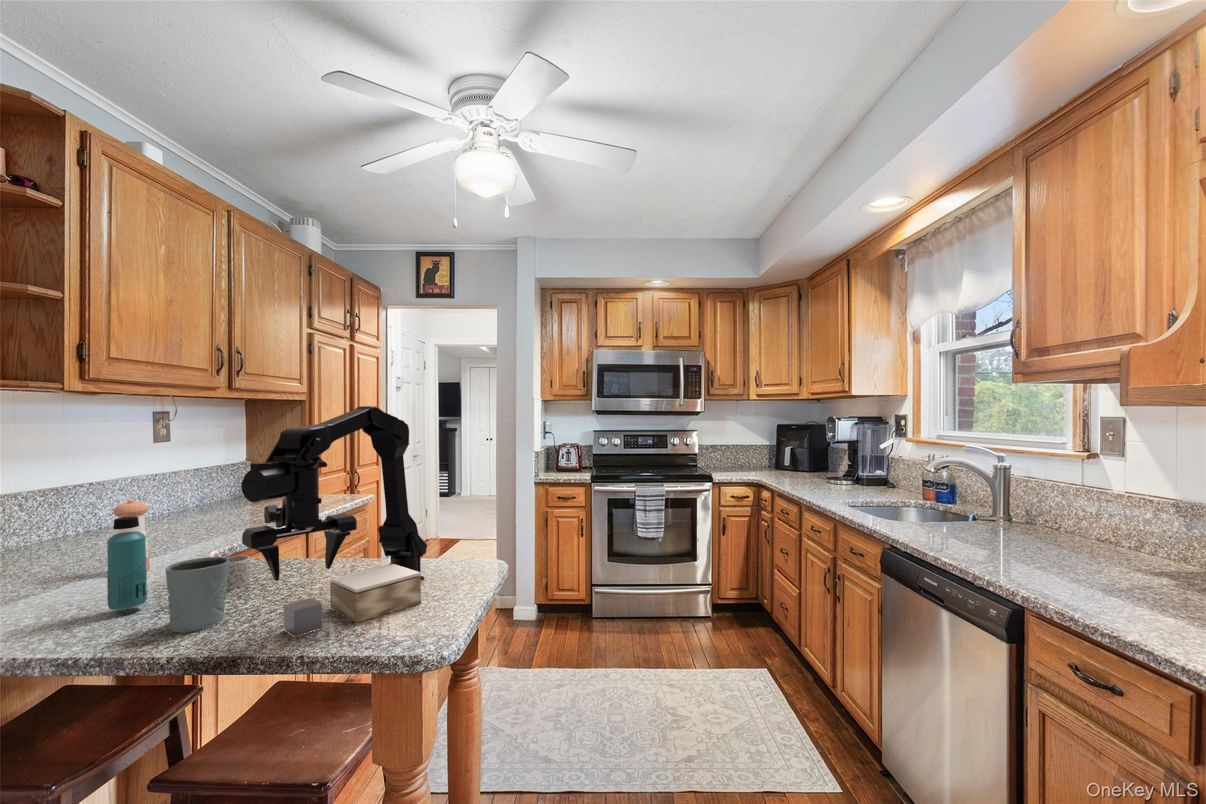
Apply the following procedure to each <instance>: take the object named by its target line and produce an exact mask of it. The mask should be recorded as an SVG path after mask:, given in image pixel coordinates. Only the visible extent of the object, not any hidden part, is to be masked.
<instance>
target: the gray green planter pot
mask: <svg viewBox="0 0 1206 804" xmlns="http://www.w3.org/2000/svg"><path fill="white" fill-rule="evenodd" d="M228 568H229V559H228V558H226V557H225V556H224V557H222V556H212V557H211V556H209V557H200V558H192V559H187V560H186V559H185V560H182V561H179V562H175V563H173V564H169V565H167V566H166V567H165V575H166V589H167V591H168V596H167V599H168V601H167V602H168V609H169V611H170V612H169V617H168V618H169V628H170V631H171V630H172V631H171V632H173V633H177V632H179V633H181V632H184V633H190V632H191V631H193V632H197V630H198V631H201V630H200V629H202V630H204V629H203V628H206V627H209V626H212V625H214V624H217V623H218V622H220V621H222V620H224V618H225V608H226V605H225V600H226V597H227V596H226V595H227V591H226V588H227V587H226V583H227V577H228ZM222 622H223V621H222ZM220 623H221V622H220ZM217 625H218V624H217ZM212 627H213V626H212ZM209 628H210V627H209ZM206 629H207V628H206ZM179 633H178V634H179ZM191 633H192V632H191Z"/></svg>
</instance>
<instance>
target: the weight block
mask: <svg viewBox="0 0 1206 804" xmlns="http://www.w3.org/2000/svg"><path fill="white" fill-rule="evenodd" d="M320 628H322V629H323V603H322V602H320V601H318V600H316V599H315V598H312V597H310V598H305V599H302V600H299V601H294V602H290V603H287V604H283V630H284V629H285V630H286V631H287V632H289V633H290V634H292V635H293V636H298V635H301V634H304V633H307V632H310V631H313V630H317V629H320ZM317 631H318V630H317ZM287 632H286V633H287ZM304 635H305V634H304ZM301 636H302V635H301ZM298 637H299V636H298Z"/></svg>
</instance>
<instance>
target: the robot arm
mask: <svg viewBox="0 0 1206 804" xmlns="http://www.w3.org/2000/svg"><path fill="white" fill-rule="evenodd" d="M360 430H362V432H363V433H364V434H366V435H367V436H368V437H370V440H371V444H372V448H373V450H374V451H375V452H376V454H377V455H378V456H379V458H380V461H381V463H380V464H381V473H382V482H383V483H382V484H383V492H384V503H385V514H386V516H385V519H384V522H383V523H382V524H381V525H379V526H378V528H377V530H378V535H379V536H378V537H379V539H378V543H379V544H381V548H382V550H383V553H384V556H385V557H390V562H389V563H388V565H389V564H396V565H399V566H402V567H405V568H408V569H411V570H414V571H417V572H422V571H421V566H422V565H421V558H422V557H424V555H425V554H426V553H427V549H428V544H427V543H426V542H425V540H424V539H422V537H421V536H420V535H419V531H418V526H417V523H416V521H415V520H414V518H412V516H411V515H410V511H409V505H408V504H409V503H408V492H407V482H406V470H405V460H404V455H405V453H406V451H407V449H408V447H409V445H410V428H409V425H408V423H406V421H405V420H402V419H400V418H398V417H396V416H394V415H392V414H390V413H387V412H385V411H384V410H382V409H380V407H377V406H374V405H368V406H367V405H366V406H365V405H362V406H358V407H355V408H354V409H352V410H351V411H348V412H345V413H343V414H340V415H337V416H335V417H332V418H330V419H327V420H326V421H325V420H324V421H322V422H321V423H318V424H311V425H310V424H309V425H301V426H296V427H290V428H286V429H284V430H282V431H281V432H280V434H279V438H278V441H276V444H275V446H273V448H272V450H271V452H270V454H269V455H268V456H267V458H266V460H265V461H264V462H253V463H250V467H249V468H250V470H249V471H247V472H246V473H245V474H244V477H243V479H242V482H240V483H241V484H240V485H241V486H240V487H241V492H242V494H243V496H244V498H245V499H246V500H247V501H249V502H251V503H258V502H263V501H269V500H274V499H279V498H282V506H281V507H278V505H277V504H273V505H267V506H265V507H264V509H263V510H264V511H263V517H264V519H263V520H264V523H265V524H267V525H262V526H256V527H249V528H245V530H243V532H242V535H241V539H242V540H241V543H242V545H243V546H246V547H248V548H249V549H253V550H255V551H257V552H260V553H261V555H262V556H263V558H264V560H265V562H266V563H267V566H268V568H269V570H270V573H271V575H272V577H273V579H274V581H275V582H278V581H279V579H280V571H281V570H280V547H279V546H278V545H277V544H276V542H277V541H278V539H284V538H289V537H295V536H300V535H301V536H302V535H306V534H307V535H308V534H312V533H317V532H318V533H319V532H323V533H324V538H325V557H324V558H325V559H324V560H325V561H324V563H325V568H326V569H327V570H330V569H331V567H332V565H333V563H334V561H335V558H336V557H337V553H338V552H339V550H340V548H341V545H342V544H343V543H344V541H345V539H346V537H348V536H350V535H351V532H352V531H356V530H357V529H358V521H357V518H356V517H355V516H354V515H351V514H348V513H344V512H343V513H338V514H332V515H327V516H326V517H325V520H322V518H321V519H320V504H322V498H321V497H320V495H319V493H320V488H319V486H320V485H319V484H320V482H319V480H320V479H319V474H320V473H319V469H320V468H327V467H328V463H327V462H326V461H324V460H323V459H322V458H321V457H320V456H321V455H322V454H324V453H325V452H326V451H327V450H329V449H330V447H331V446H332V444H333V443H334V442H336V441H337V440H339V439H342V438H344V437H347V436H348V435H350V434H353V433H355V432H357V431H360ZM273 523H275V528H273V527H272V526H269V525H268V524H273ZM419 577H421V581H422V580H425V577H424V576H423V575H420V576H419Z"/></svg>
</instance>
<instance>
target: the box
mask: <svg viewBox="0 0 1206 804" xmlns="http://www.w3.org/2000/svg"><path fill="white" fill-rule="evenodd" d="M421 581H422V580H421V577H419V576H416V577H413V578H409V579H405V580H401V581H398V582H394V583H390V584H387V585H383V586H379V587H376V588H372V589H368V590H365V591H361V592H357V593H356V592H353V591H351V590H349V589H347V588H344V587H342V586H340V585H337V584H335V583H333V582H330V581H329V582H330V583H329V586H330V587H329V589H330V591H329V592H330V595H329V596H330V609H331V608H332V609H334V610H335V611H337V612H338V614H339V613H340V614H339V615H341V614H342V615H341V616H343V615H344V616H343V617H344V618H346V617H348V618H349V620H350V619H351V620H350V621H352V620H353V621H352V622H354V623H356V624H358V622H359V623H361V621H362V622H364V621H363V620H365V621H368V620H371V619H374V618H377V616H378V617H381V616H384V615H387V614H389V612H390V613H392V612H391V611H394V612H396V611H395V610H397V611H399V610H398V609H400V610H402V609H406V608H409V607H413V606H416V605H418V603H419V604H421V603H422V589H421V588H422V582H421ZM415 604H416V605H415ZM332 609H331V610H332ZM335 611H334V612H335ZM337 612H336V613H337ZM386 613H387V614H386ZM383 614H384V615H383ZM380 615H381V616H380ZM348 618H347V619H348ZM370 618H371V619H370ZM367 619H368V620H367Z"/></svg>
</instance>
